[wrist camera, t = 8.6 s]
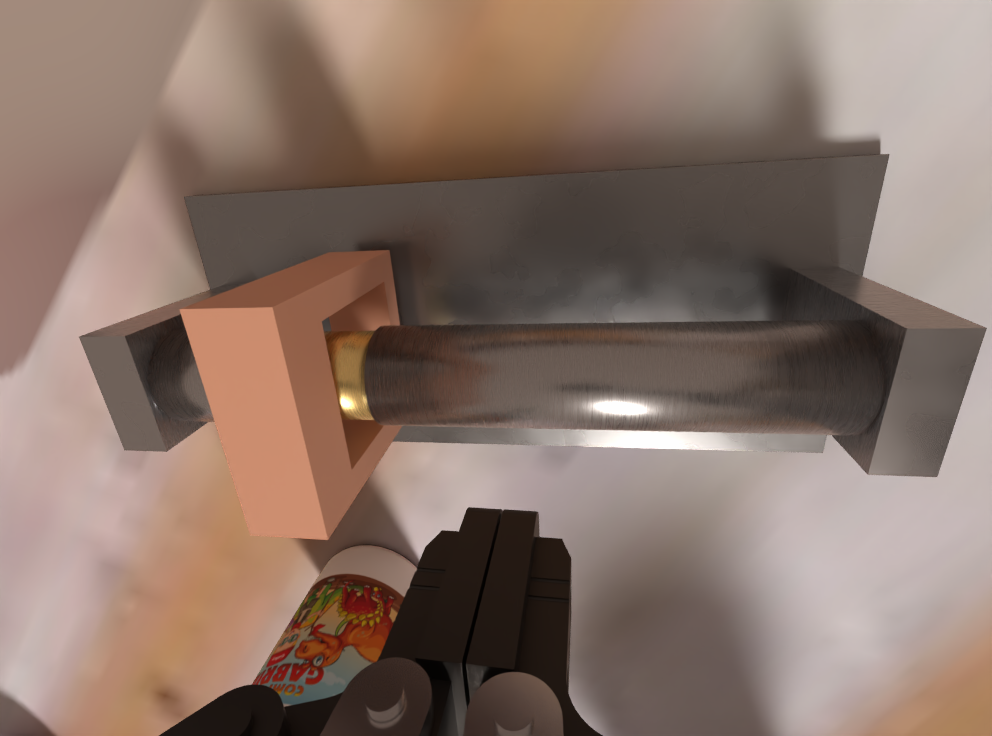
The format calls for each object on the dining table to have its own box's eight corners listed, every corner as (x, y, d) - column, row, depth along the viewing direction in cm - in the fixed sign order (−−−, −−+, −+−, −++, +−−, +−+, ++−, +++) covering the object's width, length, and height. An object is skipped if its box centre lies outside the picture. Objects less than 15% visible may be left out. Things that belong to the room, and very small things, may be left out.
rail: (881, 154, 20) (1092, 151, 12) (817, 446, 26) (933, 585, 17) (192, 195, 26) (5, 214, 17) (258, 432, 31) (139, 534, 23)
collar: (389, 250, 23) (272, 307, 14) (412, 411, 26) (328, 539, 17) (329, 252, 23) (179, 309, 15) (358, 410, 27) (250, 535, 18)
